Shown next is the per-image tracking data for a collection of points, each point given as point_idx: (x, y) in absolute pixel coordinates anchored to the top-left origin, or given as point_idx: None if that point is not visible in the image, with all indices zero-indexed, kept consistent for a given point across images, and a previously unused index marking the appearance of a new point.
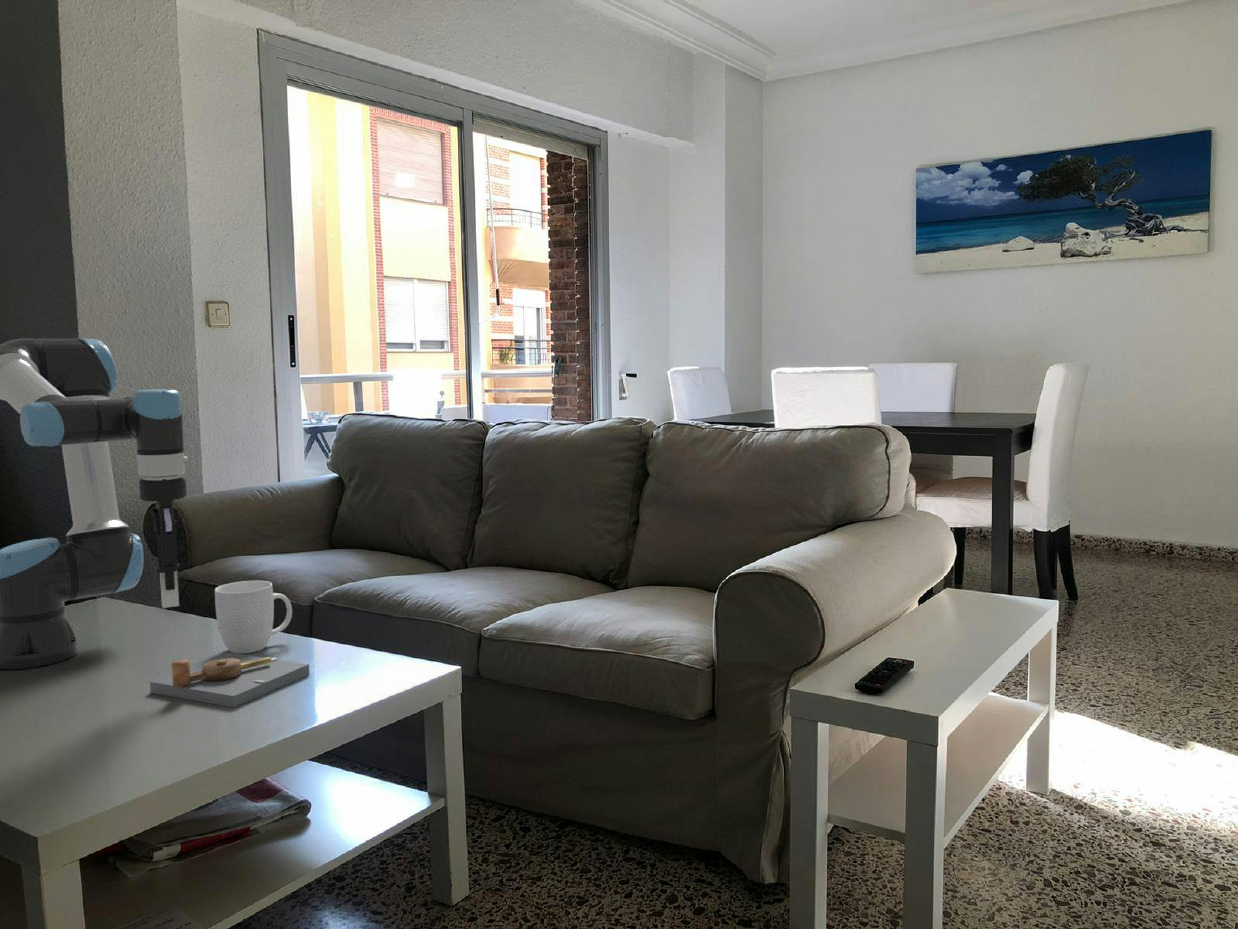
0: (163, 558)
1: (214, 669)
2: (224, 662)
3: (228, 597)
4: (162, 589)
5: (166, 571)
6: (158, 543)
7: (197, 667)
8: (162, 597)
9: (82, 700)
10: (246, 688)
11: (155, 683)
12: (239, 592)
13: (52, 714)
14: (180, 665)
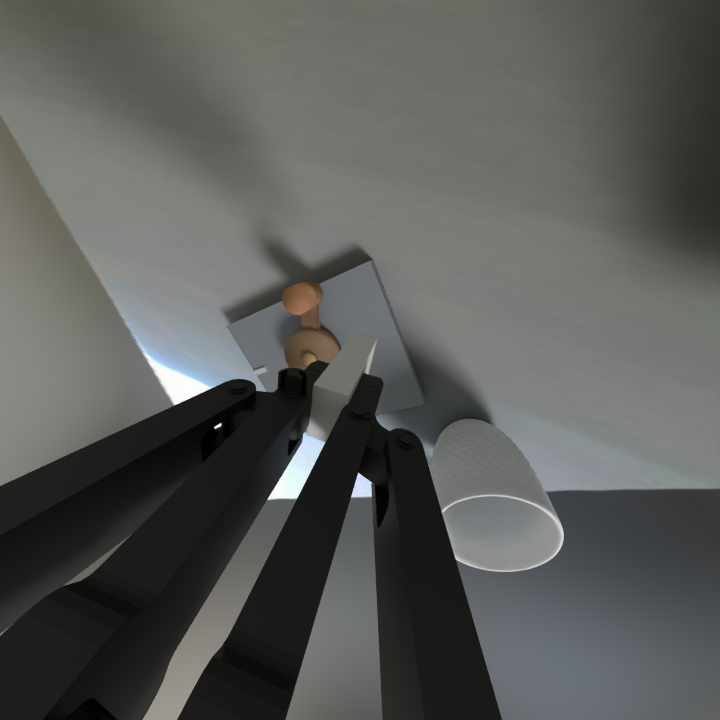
0: (166, 415)
1: (289, 339)
2: (303, 361)
3: (462, 489)
4: (337, 356)
5: (262, 394)
6: (322, 532)
7: (387, 344)
8: (345, 344)
9: (427, 140)
10: (247, 349)
11: (358, 266)
12: (538, 528)
13: (386, 60)
14: (282, 295)
